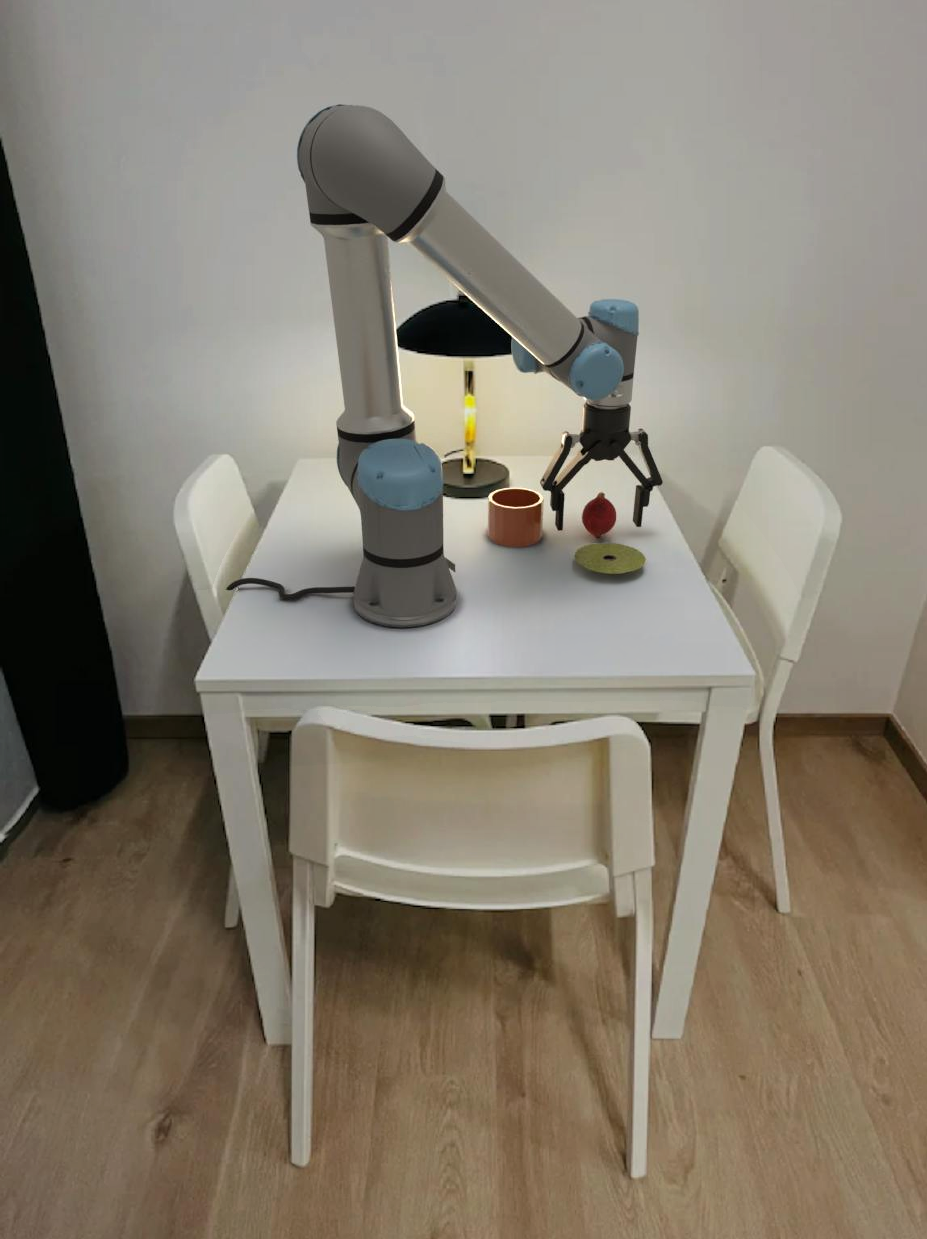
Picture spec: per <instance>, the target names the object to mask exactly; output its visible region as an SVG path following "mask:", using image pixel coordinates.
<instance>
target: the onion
mask: <svg viewBox="0 0 927 1239" xmlns="http://www.w3.org/2000/svg"><path fill="white" fill-rule="evenodd" d="M605 495H606V494H605V493H604V492H603V491H601V492H598V495H597V496H596V497H595V498H593V499H591V500H589V501H588V502H587V503H586V504H585V505H584V507H583V510H582V514H581V522H582V525H583V527H584V528H585V530H586V531H587V532H588V533H589V534H591V535H593V536H594V537H596V538H600V537H602V536H603V535H605V534H607V533H609V531H611V530H612V529H613V528H614V527H615V525H616V522H617V510H616V508H615V506H614V505H613V503H612V502H611V501H610V500H609V499H608V498H606V497H605Z"/></svg>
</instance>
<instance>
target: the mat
mask: <svg viewBox="0 0 927 1239" xmlns="http://www.w3.org/2000/svg"><path fill="white" fill-rule="evenodd" d="M573 557H574V560H575V562H576V563H577V564H579V565H580V566H582V567H583V568H585V569H587V570H589V571H592V572H597V573H601V574H602V573H603V574H610V575H611V574H613V575H616V574H617V575H618V574H619V575H620V574H626V573H631V572H635V571H636V570H639V569H641V568H642V567H643V566H644V565H645V563H646V556H645V554H644V553H642V551H640V550H639V549H636V548H635V547H632V546H629V545H626V544H623V543H618V542H596V543H590V544H586V545H584V546H581V547H579V548H577V549H576V551H575V552H574V554H573Z"/></svg>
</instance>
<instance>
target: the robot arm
mask: <svg viewBox="0 0 927 1239" xmlns="http://www.w3.org/2000/svg"><path fill="white" fill-rule="evenodd" d="M296 162H297V163H296V164H297V168H298V172H299V173H300V177H301V178H302V181H303V183H304V184H305V193H306V201H307V208H308V214H309V221H310V222H309V223H310V226H311V227H312V228H313V229H315V230H316V231H317V232H318V233H319V234H320V235H321V236H322V238H323V244H324V252H325V259H326V268H327V274H328V283H329V291H330V298H331V307H332V308H331V309H332V315H333V323H334V324H333V325H334V332H335V340H336V348H337V356H338V363H339V372H340V381H341V388H342V389H341V390H342V397H343V406H344V411H343V412H342V413H341V414H340V416H338V418H337V419H336V432H337V442H338V443H337V448H336V466H337V470H338V473H339V476H340V478H341V480H342V482H344V485H345V486H346V487H347V489H348V491H349V493H350V495H351V497H352V498H353V500H354V501H355V503H356V505H357V507H358V509H359V513H360V521H361V523H360V524H361V537H362V553H363V554H362V555H363V556H362V562H361V564H360V569H359V572H358V574H357V579H356V582H355V585H353V586H320V587H319V586H317V587H316V586H315V587H308V588H303V589H300V590H298V591H296V592H292V593H286V590H285V587H284V586H283V585H282V584H281V583H278V582H275V581H272V580H268V579H263V578H260V577H259V578H257V577H245V578H240V579H236V580H235V581H233V582H231V583H230V584H229V585H228V586H227V587H226V588H225V590H226V591H233V590H234V589H236V588H238V587H240V586H243V585H247V584H248V585H260V586H265V587H269V588H272V589H275V590H278V595H279V597H280V598H281V600H286V601H294V600H296V599H299V598H301V597H304V596H306V595H311V594H312V595H313V594H345V593H346V594H347V593H349V594H351V593H353V606H354V609H355V612H356V613H357V614H358V615H359V616H360V617H361V618H363V619H364V620H366V621H368V622H371V623H373V624H376V625H380V626H385V627H391V628H392V627H393V628H413V627H421V626H426V625H429V624H434V623H436V622H438V621H440V620H443V619H444V618H446V617H447V616H449V615H450V614H451V613H452V612H453V611H454V610H455V608H456V606H457V602H458V598H457V597H458V596H457V595H458V594H457V593H458V592H457V587H456V584H455V581H454V578H453V575H452V573H451V571H452V572H454V573H456V564H455V563H454V562H452V561H451V560H449V559H448V558H447V557H445V552H444V551H445V550H444V485H445V478H444V476H445V475H444V471H443V464H442V460H441V458H440V455H439V454H438V452H437V451H436V450H435V449H434V448H432V447H431V446H430V445H427V444H426V443H424V442H421V443H419V442H418V441H417V435H416V424H415V423H416V422H415V415H414V413H413V412H412V411H411V410H409V408H407V407H406V406H405V405H404V404H403V391H402V380H401V369H400V359H399V350H398V348H399V347H398V336H397V325H396V316H395V314H396V313H395V304H394V302H395V301H394V292H393V282H392V281H393V280H392V269H391V258H390V251H389V250H390V249H389V248H390V247H389V239H390V240H391V241H392V242H393V243H395V244H399V243H407V244H408V245H409V246H410V247H411V248H413V249H414V250H415V251H416V252H417V253H419V255H420V256H421V257H423V259H425V260H426V261H427V262H428V263H429V264H431V266H433V267H434V268H435V269H436V270H437V271H438V272H439V273H440V274H441V275H442V276H444V277H445V278H446V279H447V280H448V281H449V282H451V283H452V284H453V285H454V286H455V287H456V288H457V289H458V290H459V291H461V293H463V294H464V295H465V296H466V297H467V298H468V299H469V300H471V301H472V302H473V303H474V304H475V305H476V306H477V307H478V308H480V309H481V310H482V311H483V312H484V313H485V314H486V315H487V316H489V317H490V318H491V320H493V321H494V322H495V323H497V325H499V326H500V327H501V328H502V329H503V330H504V331H505V332H506V333H507V334H509V335H510V336H511V342H510V343H511V344H510V345H511V346H510V348H511V357H512V360H513V364H514V366H515V368H516V370H517V371H518V372H519V373H521V374H534V375H536V374H539V373H545V374H547V375H549V376H550V377H552V378H553V379H555V380H557V381H558V382H560V383H562V384H563V385H564V386H566V387H567V388H568V389H570V391H571V390H572V392H574V394H576V395H577V396H579V397H582V398H583V400H584V401H585V402H584V404H583V407H582V424H581V431H580V433H579V434H578V433H577V434H576V433H570V432H569V431H567V430H566V431H563V432H562V434H561V439H560V444H559V446H558V448H557V450H556V452H555V453H554V455H553V457H552V459H551V461H550V463H548V466H547V468H546V470H545V472H544V474H543V475H542V477H541V479H540V481H539V484H540V486H541V488H542V490H543V491H545V492H550V502H549V506H550V509H551V511H552V512H555V516H554V517H555V519H554V526H555V527H556V529H557V531H558V532H561V531H564V529H563V528H564V512H565V495H566V494H565V493H564V491H563V489H564V488H565V487H566V486H567V485H568V484H569V483H570V482H571V481H572V480H573V478H574V477H575V476H576V475H577V474H578V473H580V471H581V470H582V468H583V467H584V466H586V465H588V464H589V463H590V462H591V461H592V460H593V461H595V462H602V461H604V460H606V461H609V462H610V461H615V460H616V459H617V458H619V459H621V461H622V462H623V463H624V465H625V466H626V467H627V468H628V470H629V471H630V472H631V473H632V475H633V476H634V477H635V478H636V480H637V481H638V482H639V483H640V484H636V485H635V492H634V502H633V503H634V504H633V512H632V513H633V514H632V522H633V523H634V525H635V526H636V528H642V525H643V524H642V523H643V513H644V508H647V507H648V506H649V505H650V498H651V492H652V491H653V490H654V487H660V486H662V485H663V484H664V483H663V482H664V481H663V478H662V476H661V473H660V471H659V469H658V467H657V464H656V460H655V459H654V457H653V455H652V452H651V449H650V446H649V435H648V433H647V432H646V431H645V429H643V428H638V429H637V430H636V431H631V432H630V423H631V413H632V412H631V411H632V407H631V405H630V403H631V402H632V399H633V389H634V388H633V386H634V375H635V366H636V356H637V345H638V337H639V334H640V333H639V322H640V320H639V319H640V316H639V315H640V314H639V307H638V306H637V304H635V302H632V301H630V300H625V299H616V298H605V299H604V298H603V299H600V300H594V301H593V302H592V303H591V304H590V305H589V308H588V309H589V310H588V312H587V314H588V315H585V316H582V317H577V316H576V315H575V314H574V313H573V312H572V311H571V310H570V309H569V308H567V306H566V305H564V304H563V303H562V301H561V300H559V299H558V298H557V297H556V296H555V295H554V294H553V293H552V292H551V291H550V290H549V289H548V288H547V287H546V286H545V285H544V284H543V283H542V282H541V281H540V280H539V279H538V278H537V277H536V276H534V274H532V273H531V272H530V271H529V269H527V268H526V266H524V265H523V264H522V263H521V262H520V261H519V260H518V259H517V258H516V257H515V256H514V255H513V254H512V253H511V252H510V251H509V250H508V249H506V247H505V246H503V245H502V243H500V241H498V240H497V239H496V237H494V236H493V235H492V234H491V233H490V232H489V231H488V230H487V229H486V228H485V227H484V226H483V225H482V224H480V222H478V220H476V218H475V217H474V216H473V215H471V214H470V213H469V212H468V211H467V210H466V209H465V208H464V207H463V206H462V205H461V204H460V203H459V202H458V201H457V200H456V199H455V198H454V197H453V196H452V195H451V194H449V192H447V186H446V183H447V182H446V177H445V176H444V175H443V174H442V173H441V172H440V171H439V170H438V169H437V168H436V167H435V166H434V165H433V164H432V163H431V162H430V161H429V160H428V158H426V157H425V155H423V153H422V152H421V151H420V150H419V149H418V148H417V147H416V145H415V144H414V143H413V142H412V141H411V140H410V138H409V137H408V136H407V135H406V134H405V133H404V132H403V131H402V130H401V128H400V127H399V126H398V125H397V124H396V123H395V122H394V121H393V120H392V119H391V118H389V116H387V115H386V114H384V113H383V112H382V111H379V110H378V109H375V108H373V107H370V106H366V105H359V104H358V105H357V104H355V105H353V104H342V103H338V104H335V105H329V106H326V107H325V108H322V109H320V110H318V111H317V112H316V113H315V114H314V115H312V117H310V118H309V120H308V121H307V122H306V123H305V126H304V127H303V129H302V131H301V133H300V135H299V138H298V142H297V147H296ZM631 441H633V442H632V443H634V444H635V445H636V446H637V447H638V450H639V452H640V454H641V457H642V459H643V461H644V464H645V466H646V469H647V472H648V474H649V477H648V478H647V477H646V476H645V475H644V473H643V472H642V471H641V469H639V467H638V465H637V464H636V463H635V462H634V460H632V458H631V457H630V455H628V453H627V451H625V449H626V448H627V447H628V445H629V444H630V443H631ZM578 443H579V444H580V445H581V446H582V447H581V448H580V449H579V450H578V451H577V453H576V455H575V457H574V458H572V459H571V461H570V462H569V463H568V464H567V465H566V466H565V468H563V465H564V464H565V462H566V460H567V458H568V457H569V455H570V452H571V449H573V448H574V447H575V446H576V445H577V444H578ZM562 468H563V469H562ZM561 469H562V471H561ZM560 471H561V472H560Z"/></svg>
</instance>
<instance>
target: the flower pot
mask: <svg viewBox="0 0 927 1239" xmlns="http://www.w3.org/2000/svg"><path fill="white" fill-rule="evenodd" d="M544 500H545V499H544V496H543V494H541V493H540V492H538V491H536V490H534V489H530V488H525V487H505V488H501V489H500V488H499V489H496V490H494V491H492V492H491V493H489V495H488V496H487V537H488V539H489V540H490V541H492V543H494V544H497V545H499V546H503V547H510V548H523V547H529V546H533V545H535V544H537V543H538V542H540V541H541V539H542V537H543V536H542V535H543V527H544V526H543V525H544V524H543V523H544V522H543V521H544V505H545V504H544V502H545V501H544Z"/></svg>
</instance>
